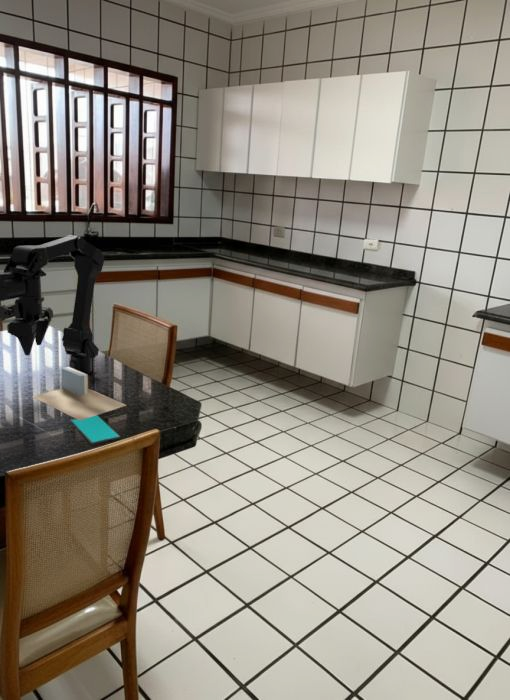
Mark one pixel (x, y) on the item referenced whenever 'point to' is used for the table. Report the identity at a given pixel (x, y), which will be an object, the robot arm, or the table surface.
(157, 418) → the table surface
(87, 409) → the mat
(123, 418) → the table surface
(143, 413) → the table surface
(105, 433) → the smartphone
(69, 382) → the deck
